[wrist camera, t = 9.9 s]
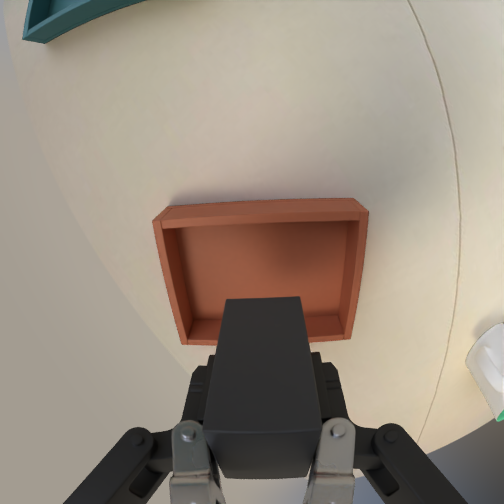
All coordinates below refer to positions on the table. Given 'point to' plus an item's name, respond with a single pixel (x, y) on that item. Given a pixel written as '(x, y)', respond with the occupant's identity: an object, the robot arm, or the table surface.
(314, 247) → the terracotta bin
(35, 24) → the teal bin
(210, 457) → the robot arm
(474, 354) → the mug
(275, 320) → the block
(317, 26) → the table surface
